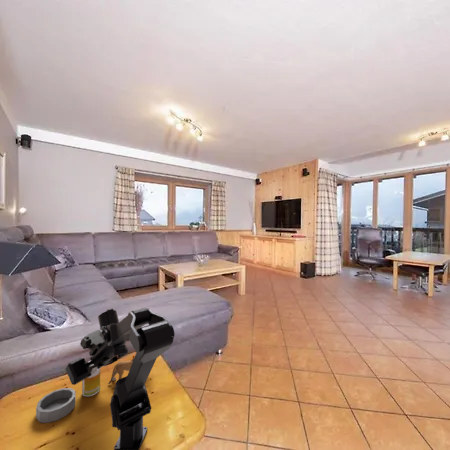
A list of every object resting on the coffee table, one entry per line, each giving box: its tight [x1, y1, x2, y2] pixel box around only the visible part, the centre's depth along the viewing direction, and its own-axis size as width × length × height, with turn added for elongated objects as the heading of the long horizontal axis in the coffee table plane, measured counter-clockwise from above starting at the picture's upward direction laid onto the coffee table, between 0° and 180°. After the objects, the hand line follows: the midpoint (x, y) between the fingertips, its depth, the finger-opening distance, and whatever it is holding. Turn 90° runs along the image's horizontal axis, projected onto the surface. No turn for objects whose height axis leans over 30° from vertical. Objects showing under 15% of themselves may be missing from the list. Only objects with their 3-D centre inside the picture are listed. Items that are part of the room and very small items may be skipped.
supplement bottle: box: [81, 360, 101, 398], centre depth 80 cm, size 5×5×10 cm
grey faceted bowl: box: [35, 387, 77, 424], centre depth 72 cm, size 10×10×3 cm
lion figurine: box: [107, 358, 134, 385], centre depth 87 cm, size 15×5×9 cm, turn 131°
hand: (89, 370), depth 80 cm, fingers closed on supplement bottle, 5 cm apart
